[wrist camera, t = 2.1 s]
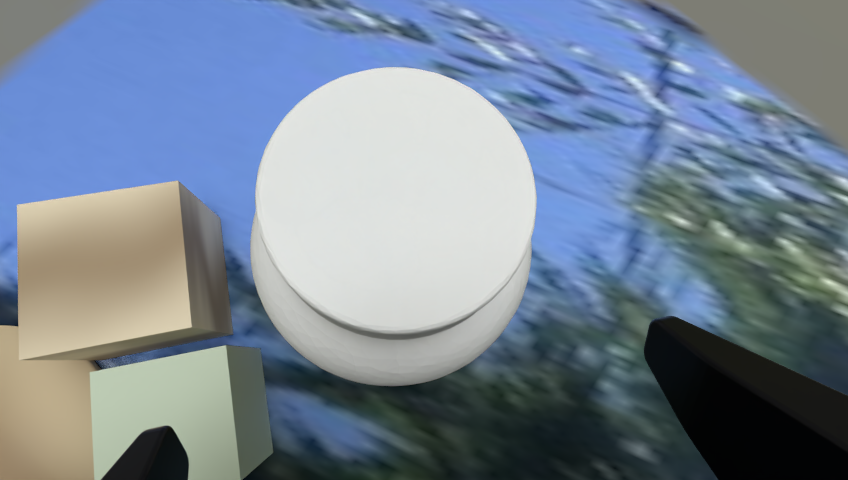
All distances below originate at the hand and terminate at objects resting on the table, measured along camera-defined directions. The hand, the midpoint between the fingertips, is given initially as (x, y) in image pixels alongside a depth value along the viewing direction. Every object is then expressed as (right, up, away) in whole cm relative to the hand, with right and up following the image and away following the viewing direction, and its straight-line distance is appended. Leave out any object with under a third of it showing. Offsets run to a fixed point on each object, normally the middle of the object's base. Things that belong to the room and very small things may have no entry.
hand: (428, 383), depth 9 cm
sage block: (-8, -4, +10) cm, 13 cm away
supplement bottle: (-2, 0, +12) cm, 12 cm away
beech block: (-11, +1, +11) cm, 15 cm away
